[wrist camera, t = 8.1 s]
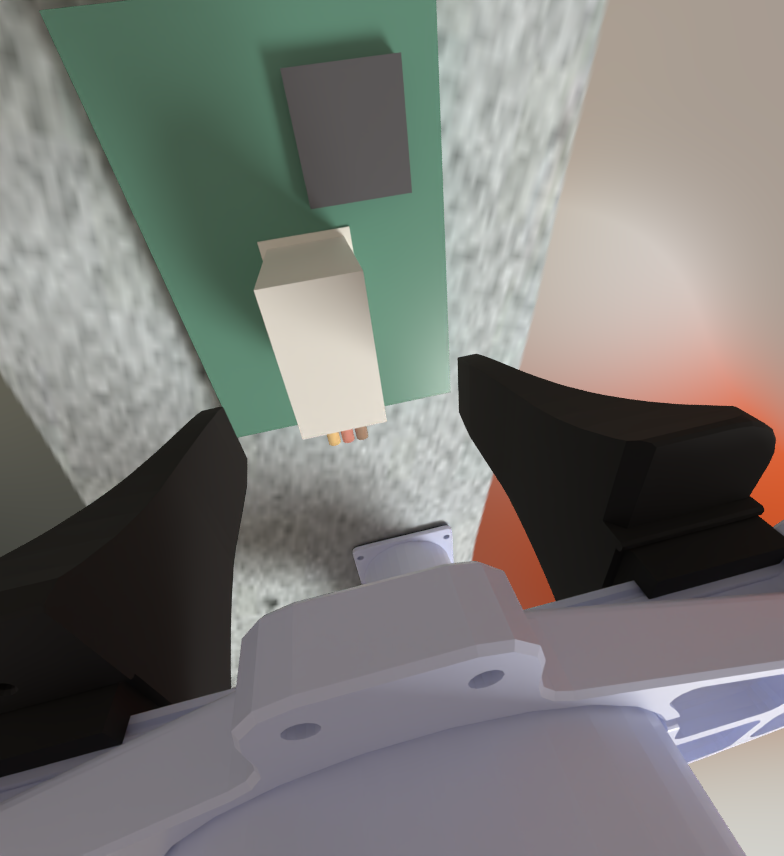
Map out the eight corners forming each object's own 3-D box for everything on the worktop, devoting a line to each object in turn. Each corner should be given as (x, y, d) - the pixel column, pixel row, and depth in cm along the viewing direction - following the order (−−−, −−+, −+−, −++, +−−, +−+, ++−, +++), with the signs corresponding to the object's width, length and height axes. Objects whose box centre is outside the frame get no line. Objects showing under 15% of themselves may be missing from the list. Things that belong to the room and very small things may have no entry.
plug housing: (369, 382, 20) (391, 452, 16) (309, 394, 20) (312, 470, 15) (343, 236, 16) (363, 270, 11) (267, 249, 16) (253, 290, 11)
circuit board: (442, 379, 23) (457, 403, 21) (239, 422, 22) (233, 451, 20) (422, -18, 14) (446, -51, 11) (63, 24, 12) (14, -3, 10)
